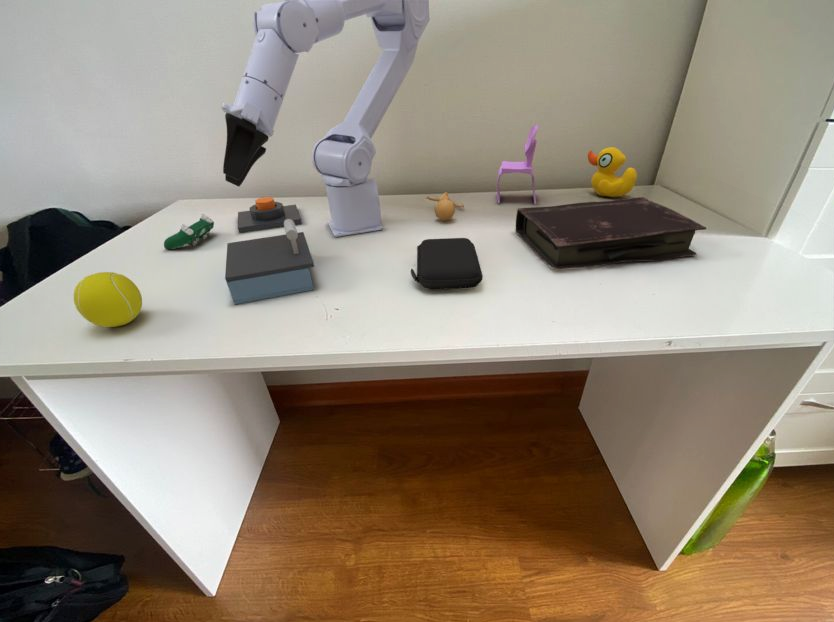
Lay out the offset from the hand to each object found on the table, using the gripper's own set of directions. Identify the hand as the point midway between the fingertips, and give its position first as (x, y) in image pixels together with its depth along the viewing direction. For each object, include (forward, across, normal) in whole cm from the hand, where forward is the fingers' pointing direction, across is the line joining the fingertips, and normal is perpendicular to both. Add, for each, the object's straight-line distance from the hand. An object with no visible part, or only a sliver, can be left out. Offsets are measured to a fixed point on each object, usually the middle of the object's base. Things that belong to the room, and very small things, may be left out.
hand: (231, 180), depth 61 cm
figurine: (-11, -7, +36) cm, 38 cm away
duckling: (-32, -5, +70) cm, 78 cm away
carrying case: (0, +11, +33) cm, 34 cm away
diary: (-15, +14, +57) cm, 61 cm away
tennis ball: (+24, +4, -6) cm, 25 cm away
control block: (+2, -25, +7) cm, 26 cm away
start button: (0, -24, +6) cm, 25 cm away
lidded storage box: (+11, 0, +10) cm, 15 cm away
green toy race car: (+11, -21, -4) cm, 24 cm away
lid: (+8, +2, +8) cm, 12 cm away
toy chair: (-24, -12, +53) cm, 59 cm away
